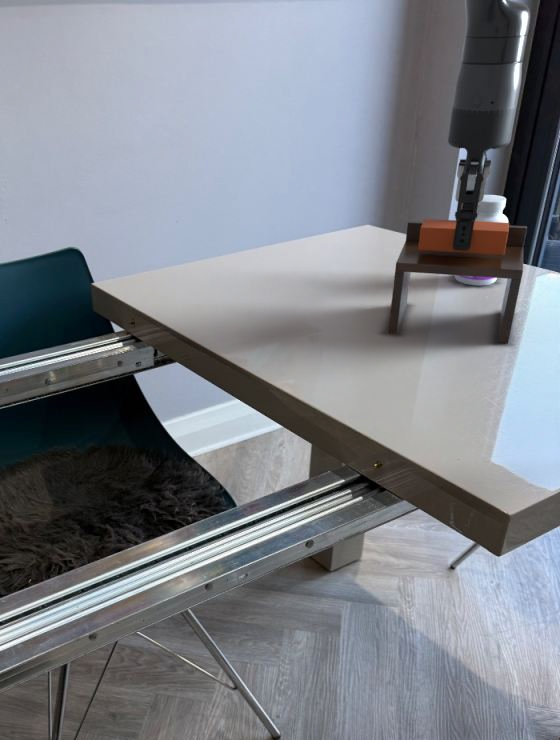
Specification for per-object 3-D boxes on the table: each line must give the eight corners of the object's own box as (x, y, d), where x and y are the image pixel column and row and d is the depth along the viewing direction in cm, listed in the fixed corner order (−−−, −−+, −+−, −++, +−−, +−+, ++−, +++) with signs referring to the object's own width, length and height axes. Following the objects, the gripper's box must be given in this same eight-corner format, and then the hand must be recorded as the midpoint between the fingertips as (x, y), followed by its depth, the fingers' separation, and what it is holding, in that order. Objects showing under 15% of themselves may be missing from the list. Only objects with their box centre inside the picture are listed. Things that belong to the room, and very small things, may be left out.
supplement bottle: (447, 282, 128) (459, 199, 121) (464, 271, 132) (478, 191, 125) (486, 289, 125) (502, 205, 117) (503, 278, 129) (519, 196, 121)
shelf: (509, 313, 116) (527, 226, 109) (507, 343, 106) (527, 250, 99) (398, 304, 121) (408, 220, 114) (387, 333, 111) (398, 243, 104)
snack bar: (504, 245, 107) (509, 222, 105) (504, 254, 103) (508, 231, 101) (421, 240, 110) (424, 218, 108) (417, 250, 106) (420, 227, 105)
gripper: (516, 112, 90) (489, 261, 100) (517, 95, 101) (493, 231, 111) (448, 112, 92) (428, 258, 102) (456, 95, 103) (437, 229, 113)
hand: (462, 243), depth 106 cm, fingers closed on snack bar, 4 cm apart
